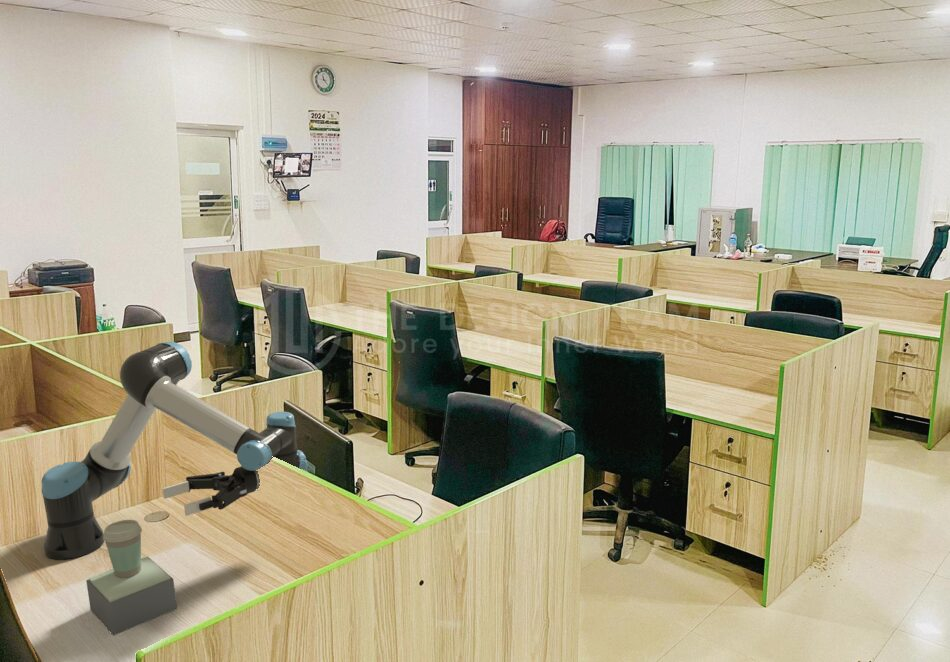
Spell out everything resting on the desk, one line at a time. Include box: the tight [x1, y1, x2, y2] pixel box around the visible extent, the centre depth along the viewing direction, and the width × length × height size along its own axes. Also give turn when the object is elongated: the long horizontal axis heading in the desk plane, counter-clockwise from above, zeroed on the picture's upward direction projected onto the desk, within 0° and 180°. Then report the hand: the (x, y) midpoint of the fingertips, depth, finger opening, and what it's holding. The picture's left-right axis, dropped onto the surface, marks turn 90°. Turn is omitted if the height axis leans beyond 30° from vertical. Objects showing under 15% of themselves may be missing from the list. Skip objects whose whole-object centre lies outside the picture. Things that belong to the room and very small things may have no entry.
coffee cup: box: [103, 519, 143, 578], centre depth 187 cm, size 8×8×12 cm
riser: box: [85, 556, 178, 636], centre depth 187 cm, size 15×15×9 cm
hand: (173, 501), depth 195 cm, fingers open, 13 cm apart
